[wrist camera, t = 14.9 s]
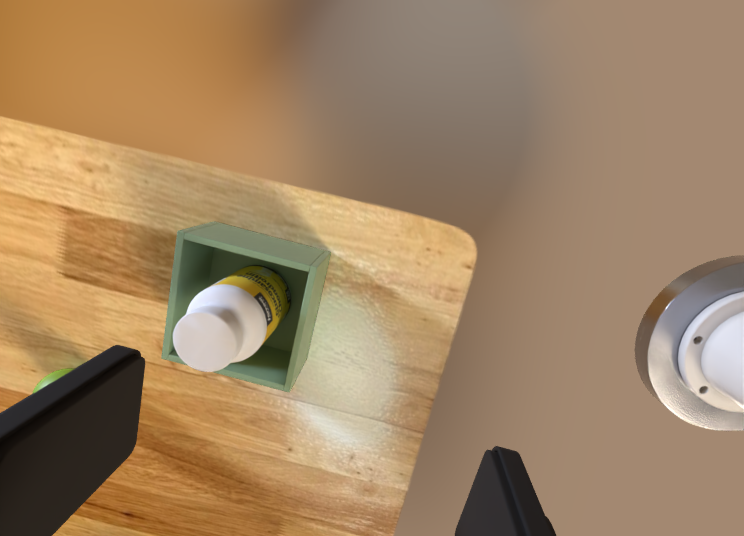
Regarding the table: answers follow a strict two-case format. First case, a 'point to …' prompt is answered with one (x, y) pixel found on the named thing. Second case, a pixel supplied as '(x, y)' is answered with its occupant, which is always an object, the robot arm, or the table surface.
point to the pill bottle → (232, 318)
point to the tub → (229, 254)
